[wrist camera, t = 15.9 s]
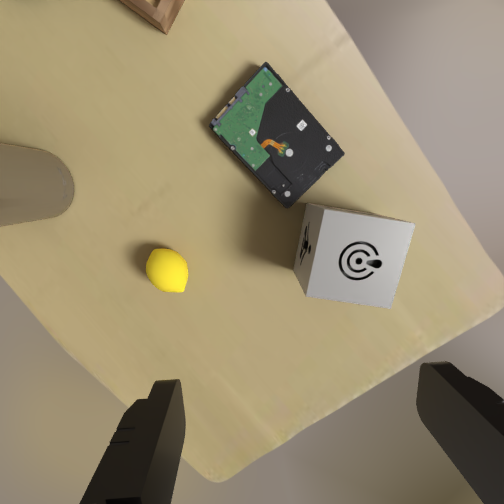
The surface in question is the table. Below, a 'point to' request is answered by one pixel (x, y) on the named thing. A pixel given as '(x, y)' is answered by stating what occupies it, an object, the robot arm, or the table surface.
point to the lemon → (167, 270)
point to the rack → (156, 11)
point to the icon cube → (351, 255)
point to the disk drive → (276, 136)
